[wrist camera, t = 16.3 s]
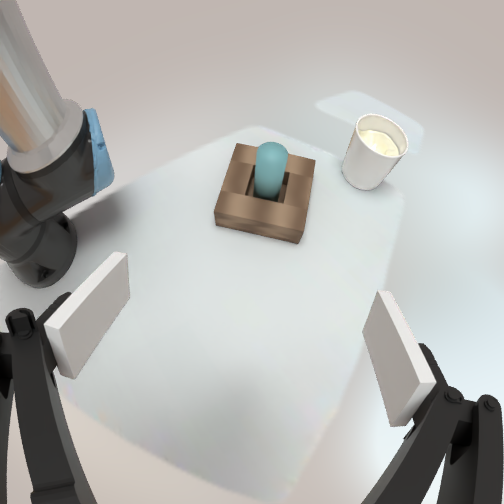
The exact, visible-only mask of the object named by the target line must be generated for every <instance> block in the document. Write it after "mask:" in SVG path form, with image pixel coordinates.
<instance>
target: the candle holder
mask: <svg viewBox="0 0 504 504" xmlns="http://www.w3.org/2000/svg"><path fill="white" fill-rule="evenodd" d="M407 150H408V139H407V136H406V134H405V133H404V131H403V130H402V129H401V127H400V126H399V125H397V124H396V123H395V122H394V121H392V120H391V119H389V118H387V117H384V116H382V115H378V114H366V115H363V116H362V117H360V118H359V119H358V121H357V122H356V126H355V130H354V133H353V136H352V138H351V141H350V144H349V147H348V150H347V152H346V155H345V158H344V161H343V164H342V172H343V175H344V177H345V179H346V180H347V181H348V182H349V183H350V184H351V185H352V186H354V187H356V188H358V189H361V190H372V189H374V188H376V187H377V186H378V185H379V184H380V183H381V182H382V181H383V180H384V178H385V177H386V176H387V175H388V174H389V172H390V171H391V170H392V169H393V168H394V166H395V165H396V164H397V163H398V161H399V160H400V159H401V157H402V156H403V155H405V153H406V152H407Z"/></svg>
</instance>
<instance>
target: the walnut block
mask: <svg viewBox="0 0 504 504" xmlns="http://www.w3.org/2000/svg"><path fill="white" fill-rule="evenodd" d="M258 148H259V147H254V146H249V145H244V144H239V143H237V144H236V147H235V149H234V152H233V155H232V158H231V161H230V164H229V167H228V170H227V173H226V176H225V179H224V182H223V185H222V188H221V191H220V194H219V197H218V200H217V203H216V206H215V209H214V215H215V222H216V225H217V226H222V227H226V228H231V229H235V230H240V231H244V232H248V233H253V234H257V235H262V236H266V237H270V238H275V239H279V240H283V241H288V242H292V243H296V244H298V243H299V241H300V239H301V237H302V234H303V232H304V227H305V222H306V216H307V210H308V204H309V198H310V192H311V186H312V180H313V174H314V167H315V161H316V160H312V159H308V158H304V157H300V156H296V155H291V154H288V159H287V163H286V168H285V172H284V177H283V181H282V186H281V190H280V194H279V199H278V202H273V201H269V200H264V199H260V198H255V197H253V191H254V179H255V167H256V155H257V149H258Z"/></svg>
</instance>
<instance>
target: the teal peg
mask: <svg viewBox="0 0 504 504" xmlns="http://www.w3.org/2000/svg"><path fill="white" fill-rule="evenodd" d="M287 159H288V152H287V150H286V148H285V147H284V146H282V145H281V144H279V143H276V142H267V143H264V144H262V145H260V146H259V148H258V149H257V155H256V167H255V179H254V191H253V197H255V198H260V199H264V200H269V201H273V202H278V199H279V194H280V190H281V186H282V181H283V177H284V172H285V168H286V163H287Z"/></svg>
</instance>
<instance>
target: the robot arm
mask: <svg viewBox="0 0 504 504" xmlns="http://www.w3.org/2000/svg"><path fill="white" fill-rule="evenodd" d="M0 136H1V137H2V138H3V140H4V141H5V142H6V143H7V144H8V150H7V158H5V159H4V160H2V161H1V160H0V258H1V259H3V260H4V261H6V262H7V263H8V265H9V266H10V268H11V269H12V271H13V272H14V273H15V275H16V276H17V277H18V278H19V279H20V280H21V281H22V282H24V283H26V284H27V285H29V286H32V287H35V288H44V287H47V286H50V285H52V284H54V283H55V282H57V281H58V280H59V279H60V278H61V277H62V276H63V275H64V274H65V273H66V271H67V270H68V268H69V267H70V265H71V263H72V261H73V258H74V255H75V251H76V245H77V236H76V231H75V228H74V225H73V223H72V222H71V221H70V219H69V218H68V217H67V216H66V215H65V214H64V213H62V212H63V211H65V210H67V209H69V208H71V207H73V206H74V205H76V204H78V203H80V202H82V201H84V200H86V199H88V198H90V197H92V196H95V195H96V193H97V192H99V191H101V190H102V189H104V188H106V187H108V186H109V185H110V184H111V183H112V182H113V179H114V170H113V167H112V164H111V161H110V158H109V154H108V152H107V148H106V145H105V141H104V138H103V134H102V131H101V127H100V124H99V120H98V117H97V113H96V110H95V109H93V108H91V109H85V110H83V111H82V109H81V108H80V106H79V105H78V103H76V102H75V101H73V100H68V99H62V97H61V96H60V94H59V92H58V90H57V88H56V86H55V84H54V82H53V80H52V78H51V76H50V74H49V72H48V70H47V68H46V66H45V64H44V62H43V60H42V58H41V56H40V54H39V52H38V49H37V47H36V45H35V43H34V41H33V39H32V36H31V34H30V32H29V30H28V28H27V25H26V23H25V20H24V18H23V16H22V13H21V11H20V9H19V6H18V4H17V1H16V0H0ZM129 299H130V291H129V277H128V260H127V253H121V252H115V251H114V252H113V253H112V254H111V255H110V256H109V257H108V258H107V259H106V260H105V261H104V262H103V263H102V264H101V265H100V266H99V267H98V268H97V269H96V270H95V271H94V272H93V273H92V274H91V275H90V276H89V277H88V278H87V279H86V280H85V281H84V282H83V283H82V284H81V285H80V286H79V287H78V288H77V289H76V290H75V291H74V292H73V293H70V292H67V293H65V294H63V295H61V296H59V297H58V298H57V299H56V300H55V301H54V302H53V304H51V305H50V306H49V307H48V309H46V310H45V312H44V313H43V314H42V315H41V316H40V317H39V318H38V319H37V320H36V321H35V317H34V314H33V312H32V311H31V310H30V309H27V308H19V309H16V310H13V311H12V312H10V313H9V314H8V315H7V316H6V319H5V322H6V324H7V327H8V330H9V333H2V332H0V504H7V487H6V485H7V484H6V483H7V482H6V481H7V476H6V473H7V450H8V436H9V426H10V425H9V424H10V416H11V408H12V401H13V394H14V393H15V402H16V409H17V416H18V423H19V428H20V434H21V439H22V444H23V449H24V454H25V458H26V462H27V466H28V470H29V474H30V478H31V481H32V485H33V492H32V493H31V497H30V498H31V502H32V504H97V502H96V500H95V498H94V495H93V493H92V491H91V488H90V486H89V484H88V481H87V479H86V476H85V474H84V471H83V469H82V466H81V464H80V461H79V458H78V456H77V453H76V450H75V447H74V444H73V441H72V438H71V435H70V432H69V429H68V426H67V422H66V419H65V415H64V412H63V408H62V404H61V400H60V397H59V393H58V388H57V384H56V380H55V376H54V373H53V370H54V369H55V367H56V366H57V367H58V369H59V372H60V375H63V376H65V377H68V378H71V379H74V380H75V379H76V377H77V376H78V374H79V373H80V371H81V369H82V368H83V366H84V365H85V363H86V362H87V360H88V359H89V357H90V356H91V354H92V352H93V351H94V349H95V348H96V346H97V345H98V343H99V342H100V340H101V339H102V337H103V336H104V335H105V333H106V332H107V330H108V329H109V327H110V326H111V324H112V323H113V321H114V320H115V318H116V317H117V316H118V314H119V313H120V311H121V310H122V308H123V307H124V306H125V304H126V303H127V301H128V300H129ZM362 333H363V336H364V339H365V342H366V345H367V348H368V351H369V354H370V358H371V360H372V364H373V367H374V371H375V374H376V377H377V381H378V384H379V387H380V391H381V394H382V397H383V401H384V405H385V408H386V411H387V415H388V419H389V423H390V426H391V427H397V426H406V425H407V424H408V422H409V421H410V420H411V418H413V421H414V426H413V427H412V428H411V430H410V431H409V432H408V433H407V435H406V436H405V437H404V442H403V443H402V445H401V447H400V448H399V450H398V452H397V453H396V455H395V456H394V458H393V459H392V461H391V462H390V464H389V466H388V467H387V469H386V470H385V471H384V473H383V475H382V476H381V477H380V479H379V480H378V482H377V483H376V485H375V486H374V487H373V489H372V490H371V491H370V493H369V494H368V495H367V497H366V498H365V499H364V501H363V502H362V503H361V504H421V502H422V501H423V499H424V497H425V495H426V493H427V491H428V489H429V487H430V485H431V483H432V481H433V479H434V477H435V475H436V473H437V471H438V469H439V467H440V465H441V462H442V460H443V458H444V456H445V453H446V456H445V463H444V469H443V475H442V480H441V485H440V490H439V495H438V500H437V504H501V502H502V490H503V425H502V412H501V406H500V403H499V402H498V400H497V399H495V398H494V397H493V396H491V395H486V394H485V395H482V396H481V397H480V398H479V399H478V401H477V402H474V401H469V400H465V399H464V397H463V395H462V394H461V392H460V391H459V390H457V389H456V388H454V387H451V386H448V384H447V382H446V380H445V378H444V376H443V374H442V372H441V370H440V368H439V367H438V364H437V362H436V360H434V359H435V358H434V356H433V354H432V352H431V351H430V349H428V347H426V345H424V344H422V343H417V341H416V339H415V337H414V335H413V333H412V331H411V329H410V327H409V325H408V323H407V322H406V320H405V318H404V316H403V314H402V312H401V310H400V309H399V307H398V305H397V303H396V301H395V300H394V297H393V296H392V294H391V292H388V291H380V290H377V293H376V296H375V299H374V302H373V304H372V307H371V310H370V313H369V315H368V318H367V321H366V323H365V326H364V328H363V331H362Z"/></svg>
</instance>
